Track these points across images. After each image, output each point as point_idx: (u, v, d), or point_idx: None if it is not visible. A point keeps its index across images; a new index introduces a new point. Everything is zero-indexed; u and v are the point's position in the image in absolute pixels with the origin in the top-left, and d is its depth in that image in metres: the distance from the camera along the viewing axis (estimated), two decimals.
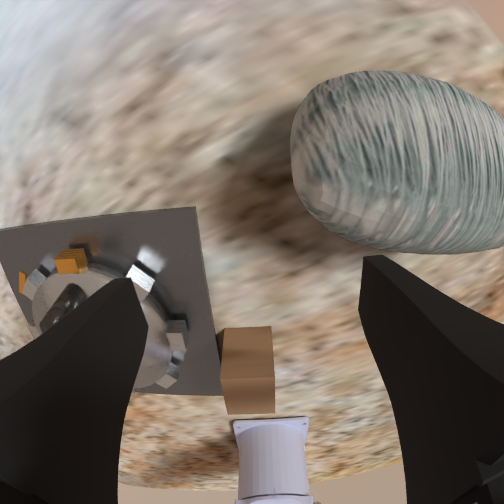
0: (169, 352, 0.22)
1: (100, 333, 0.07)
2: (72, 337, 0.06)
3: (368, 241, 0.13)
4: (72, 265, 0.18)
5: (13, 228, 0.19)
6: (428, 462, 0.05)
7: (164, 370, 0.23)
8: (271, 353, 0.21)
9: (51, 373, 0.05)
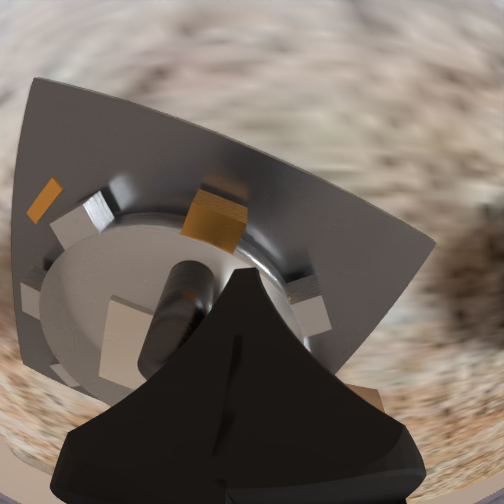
0: None
1: None
2: (245, 333, 0.06)
3: None
4: (230, 233, 0.10)
5: (98, 93, 0.09)
6: None
7: None
8: None
9: None
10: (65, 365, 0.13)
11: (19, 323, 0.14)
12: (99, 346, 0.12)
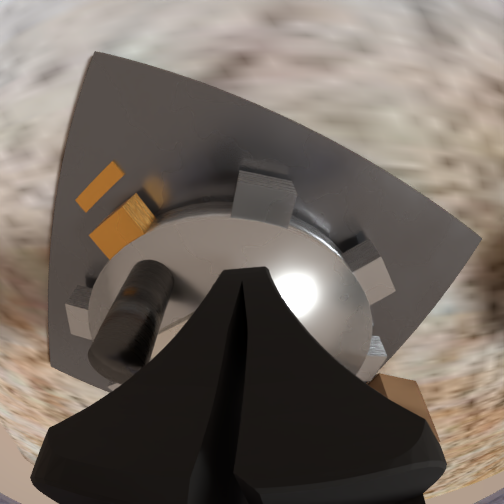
0: (368, 309, 0.11)
1: (237, 329, 0.07)
2: (227, 335, 0.06)
3: None
4: (124, 224, 0.10)
5: (175, 73, 0.09)
6: None
7: (364, 350, 0.12)
8: (428, 414, 0.15)
9: (222, 380, 0.05)
10: None
11: (51, 322, 0.14)
12: None
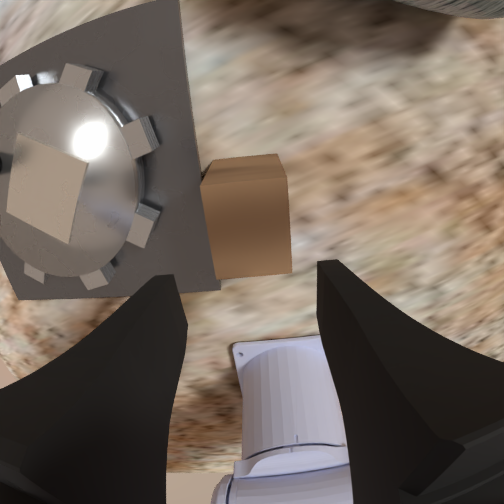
0: (83, 94, 0.13)
1: (149, 333, 0.07)
2: (126, 338, 0.06)
3: None
4: None
5: None
6: (366, 479, 0.05)
7: (110, 123, 0.13)
8: (279, 165, 0.14)
9: (108, 378, 0.05)
10: (77, 273, 0.18)
11: None
12: (45, 232, 0.16)
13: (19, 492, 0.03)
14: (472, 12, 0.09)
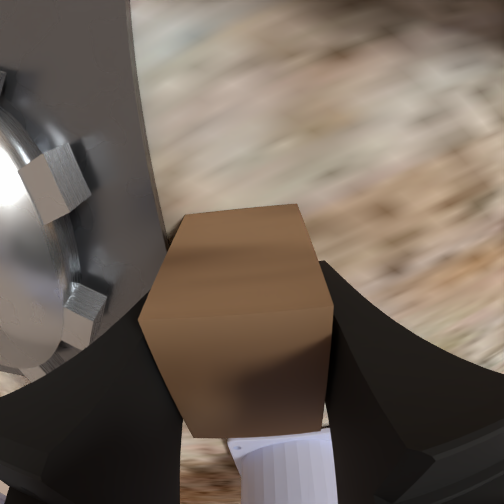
0: None
1: None
2: (141, 338, 0.06)
3: None
4: None
5: None
6: (348, 482, 0.05)
7: (4, 164, 0.06)
8: (308, 248, 0.07)
9: (125, 380, 0.05)
10: (14, 364, 0.11)
11: None
12: None
13: (32, 498, 0.03)
14: None
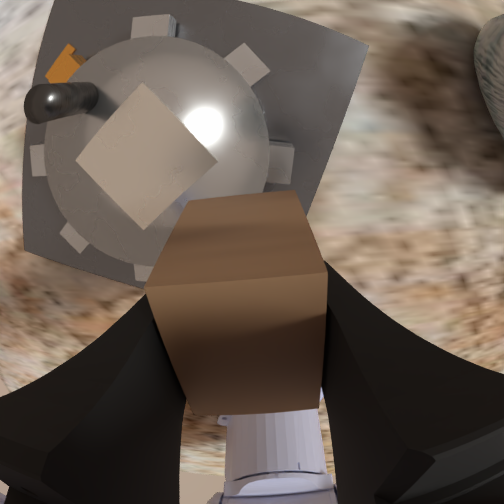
0: (249, 89, 0.13)
1: None
2: (141, 338, 0.06)
3: None
4: (69, 64, 0.12)
5: None
6: (348, 483, 0.05)
7: (263, 136, 0.14)
8: (305, 225, 0.08)
9: (125, 380, 0.05)
10: (134, 260, 0.17)
11: (25, 194, 0.17)
12: (117, 204, 0.15)
13: (32, 498, 0.03)
14: None
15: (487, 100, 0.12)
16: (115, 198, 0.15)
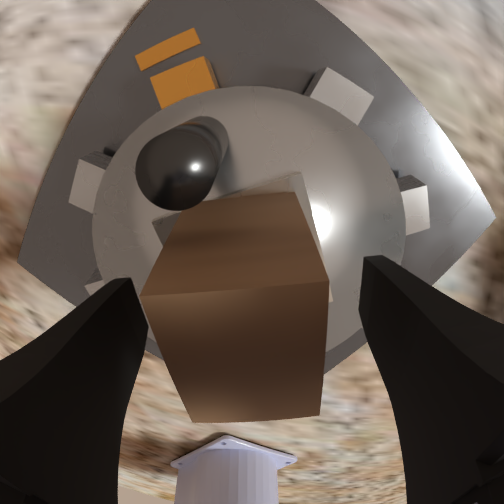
0: (403, 239, 0.11)
1: (100, 333, 0.07)
2: (72, 337, 0.06)
3: None
4: (198, 73, 0.08)
5: None
6: (428, 462, 0.05)
7: None
8: (305, 230, 0.07)
9: (51, 373, 0.05)
10: None
11: (40, 201, 0.12)
12: None
13: None
14: None
15: None
16: None
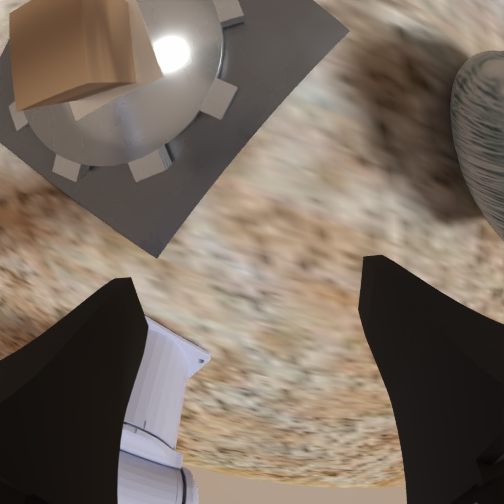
0: (218, 23, 0.12)
1: (100, 333, 0.07)
2: (72, 337, 0.06)
3: None
4: None
5: None
6: (428, 461, 0.05)
7: (213, 67, 0.13)
8: None
9: (51, 373, 0.05)
10: (58, 150, 0.14)
11: None
12: None
13: None
14: (502, 234, 0.15)
15: (452, 118, 0.14)
16: None
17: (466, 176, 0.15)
